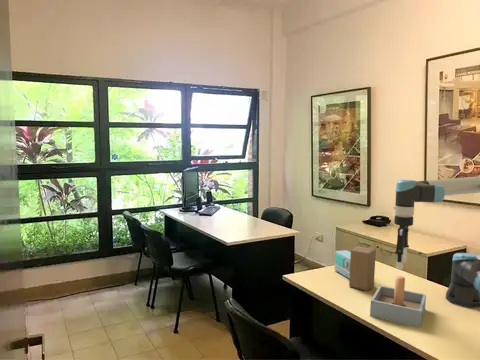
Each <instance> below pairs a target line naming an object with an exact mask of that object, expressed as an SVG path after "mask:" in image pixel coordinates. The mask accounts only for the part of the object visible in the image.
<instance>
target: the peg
mask: <svg viewBox="0 0 480 360" xmlns="http://www.w3.org/2000/svg"><path fill="white" fill-rule="evenodd" d="M405 284H406V278H405V277H404V276H403V275H402V276H401V275H396V276H395V277H394V288H395V290H394V305H399V306H403V304H404V290H405V288H406V285H405Z"/></svg>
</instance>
